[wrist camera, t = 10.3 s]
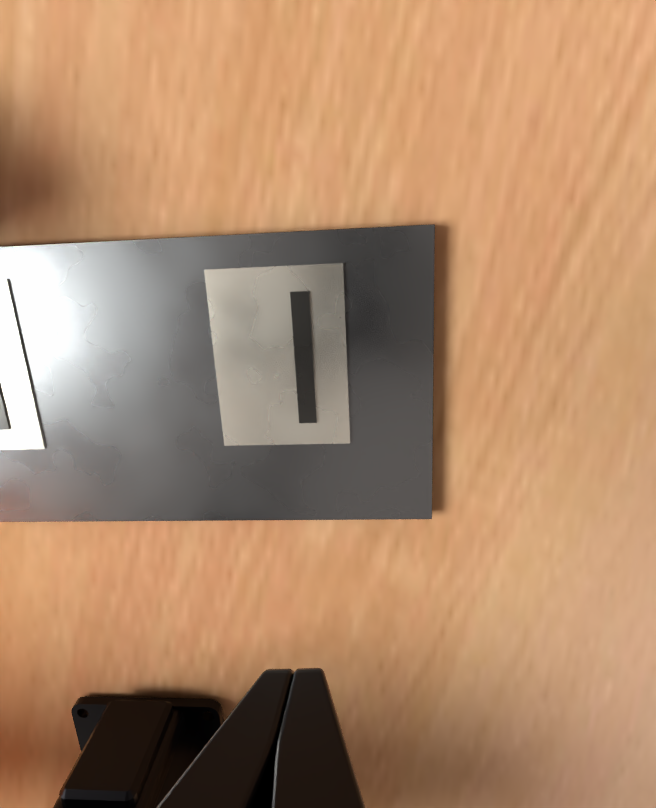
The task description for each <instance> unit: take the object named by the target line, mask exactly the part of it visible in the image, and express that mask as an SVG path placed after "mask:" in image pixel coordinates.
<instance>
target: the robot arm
mask: <svg viewBox="0 0 656 808" xmlns="http://www.w3.org/2000/svg"><path fill="white" fill-rule="evenodd" d="M207 711H208V712H207ZM209 712H211V713H209ZM72 716H73V720H74V724H75V728H76V732H77V736H78V740H79V744H80V748H81V754H80V755H79V757H78V759H77V761H76V763H75V765H74V766H73V768H72V770H71V772H70V774H69V775H68V777H67V779H66V781H65V783H64V785H63V786H62V788H61V790H60V793H59V795H60V796H59V798H58V799H57V801H56V803H55V805H54V807H53V808H365V805H364V802H363V798H362V795H361V792H360V788H359V785H358V782H357V779H356V775H355V772H354V769H353V765H352V762H351V759H350V756H349V752H348V749H347V746H346V742H345V739H344V736H343V733H342V729H341V726H340V723H339V719H338V716H337V713H336V710H335V706H334V703H333V700H332V696H331V693H330V690H329V686H328V683H327V680H326V677H325V674H324V671H323V670H322V669H320V668H304V669H297V670H296V671H295V672H294V671H292V670H291V669H268V670H266V671H264V672H263V673H262V674H261V676H260V677H259V678H258V679H257V681H256V682H255V683H254V684H253V686H252V687H251V688H250V690H249V691H248V692H247V693H246V695H245V696H244V697H243V698H242V700H241V701H240V702H239V704H238V705H237V706H236V707H235V709H234V710H233V711H232V712H231V714H230V715H229V716H228V717H227V719H226V720H225V721H224V719H223V712H222V707H221V705H220V704H219V703H218V702H217V701H215V700H211V699H181V698H134V697H87V696H85V697H80V698H79V699H78V700H77V702H76V703H75V705H74V706H73V708H72Z"/></svg>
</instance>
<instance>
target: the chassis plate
mask: <svg viewBox="0 0 656 808" xmlns="http://www.w3.org/2000/svg"><path fill="white" fill-rule="evenodd" d="M434 239H435V224H433V225H413V226H394V227H375V228H355V229H336V230H317V231H297V232H278V233H259V234H239V235H220V236H201V237H181V238H162V239H143V240H123V241H104V242H85V243H65V244H46V245H27V246H7V247H0V522H56V521H202V520H348V519H432V444H433V341H434Z"/></svg>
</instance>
